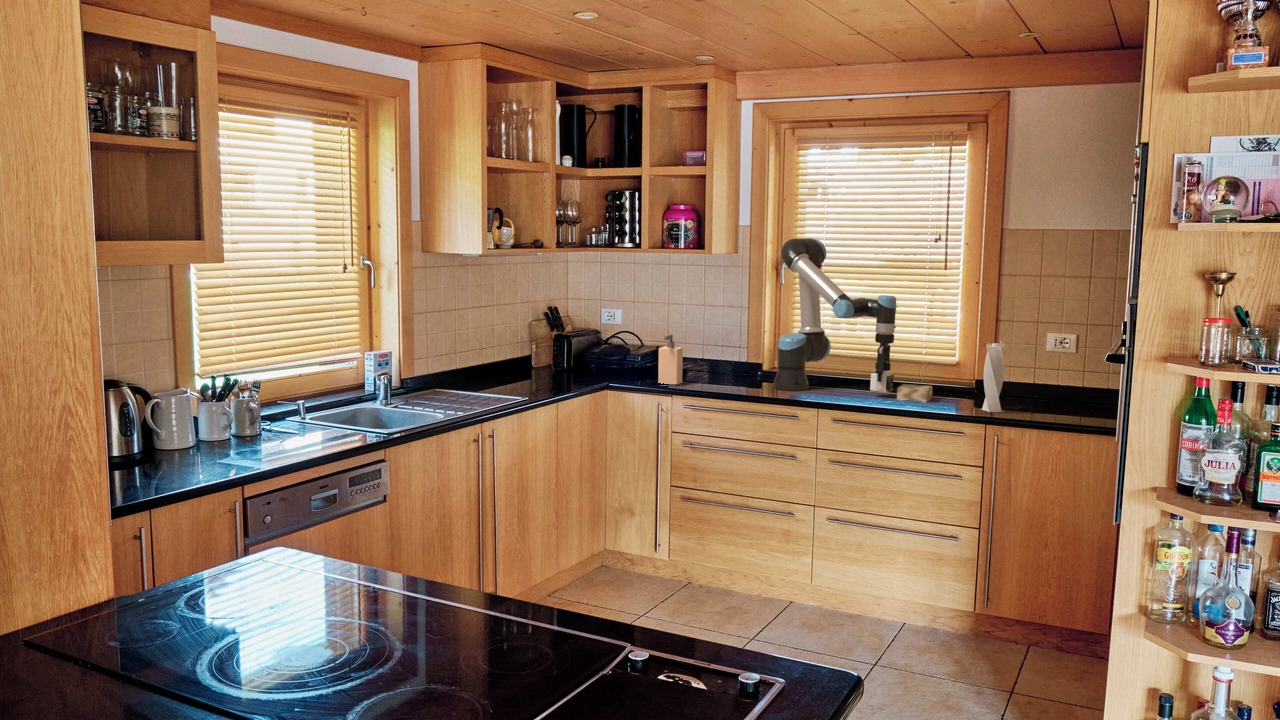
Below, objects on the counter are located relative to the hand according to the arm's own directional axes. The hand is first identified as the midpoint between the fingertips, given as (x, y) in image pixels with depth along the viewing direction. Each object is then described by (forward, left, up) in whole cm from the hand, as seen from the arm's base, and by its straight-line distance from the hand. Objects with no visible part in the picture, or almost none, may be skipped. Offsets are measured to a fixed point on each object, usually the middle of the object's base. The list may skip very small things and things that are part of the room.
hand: (881, 387), depth 417 cm
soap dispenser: (-90, -16, -4) cm, 91 cm away
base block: (+13, +1, -4) cm, 14 cm away
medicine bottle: (0, 0, -2) cm, 2 cm away
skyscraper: (+45, -13, -4) cm, 48 cm away
